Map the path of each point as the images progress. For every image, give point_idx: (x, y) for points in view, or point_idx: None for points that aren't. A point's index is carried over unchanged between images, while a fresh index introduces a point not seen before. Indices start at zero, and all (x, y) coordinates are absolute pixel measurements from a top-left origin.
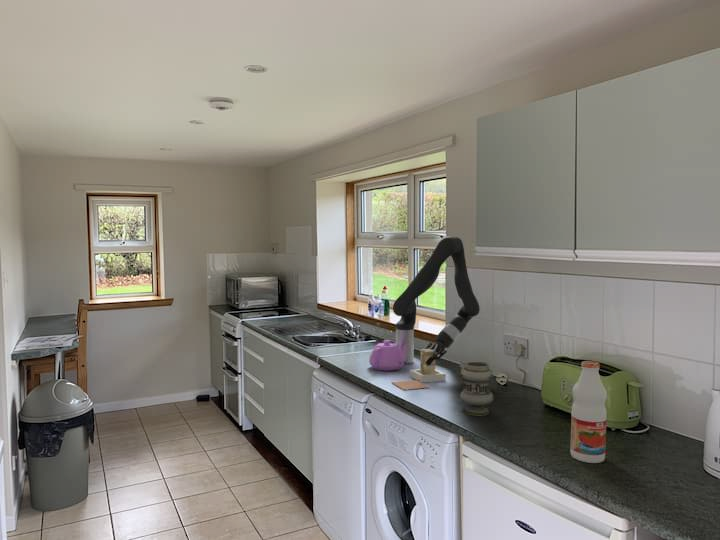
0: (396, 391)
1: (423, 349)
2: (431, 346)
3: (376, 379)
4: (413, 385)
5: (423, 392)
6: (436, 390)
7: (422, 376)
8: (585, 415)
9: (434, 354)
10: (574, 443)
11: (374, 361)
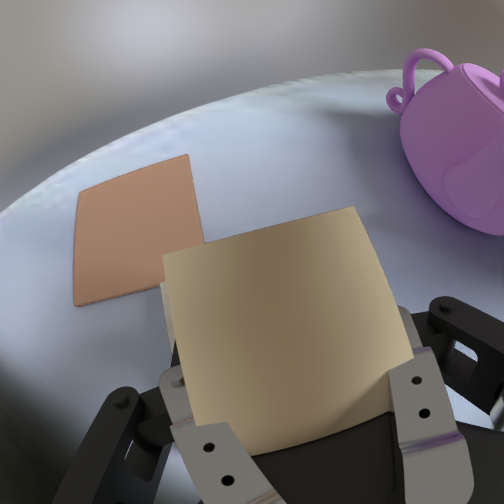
0: (83, 173)
1: (358, 251)
2: (432, 417)
3: (262, 114)
4: (111, 236)
5: (41, 265)
6: (47, 329)
7: (161, 289)
8: None
9: (173, 417)
10: None
11: (397, 88)
